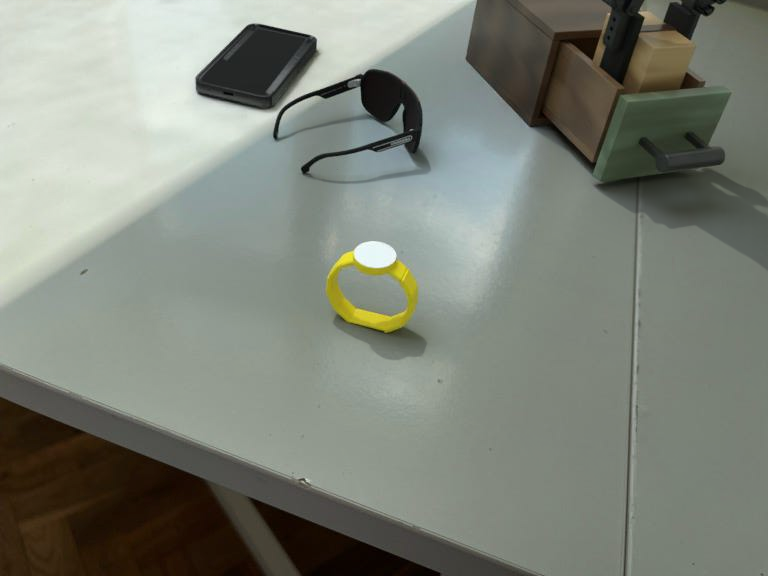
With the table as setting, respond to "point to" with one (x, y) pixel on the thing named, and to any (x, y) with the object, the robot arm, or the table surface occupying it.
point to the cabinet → (528, 45)
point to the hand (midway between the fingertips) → (633, 79)
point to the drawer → (631, 117)
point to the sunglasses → (374, 110)
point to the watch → (373, 262)
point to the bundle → (654, 57)
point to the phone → (257, 65)
